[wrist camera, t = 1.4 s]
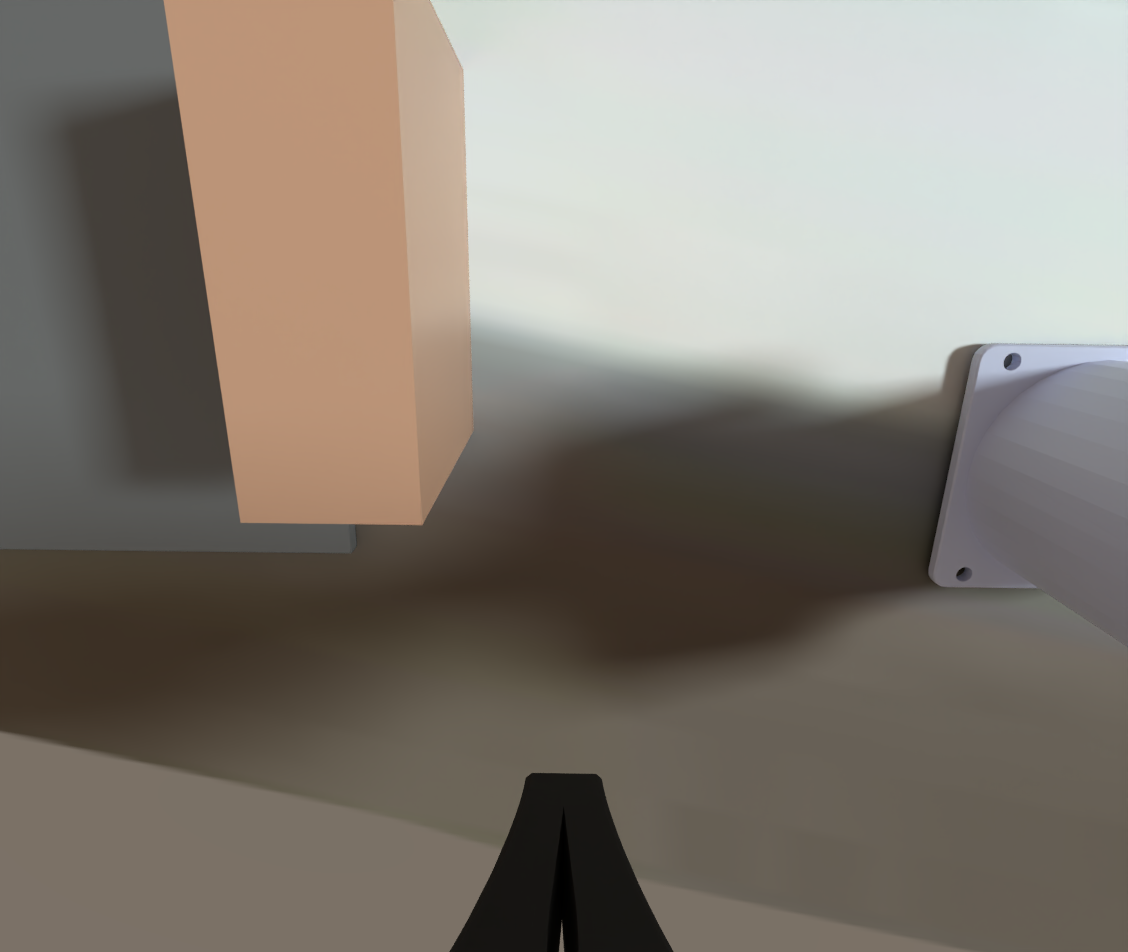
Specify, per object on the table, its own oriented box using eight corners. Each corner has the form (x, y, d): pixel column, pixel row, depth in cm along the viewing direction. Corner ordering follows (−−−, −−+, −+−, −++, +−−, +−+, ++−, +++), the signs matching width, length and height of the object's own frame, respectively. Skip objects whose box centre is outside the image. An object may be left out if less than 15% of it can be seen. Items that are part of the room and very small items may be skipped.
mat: (297, -118, 16) (265, -165, 14) (356, 545, 22) (339, 569, 20) (-354, -133, 16) (-464, -181, 14) (-126, 540, 21) (-187, 563, 20)
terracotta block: (463, 70, 17) (388, -88, 10) (473, 430, 20) (422, 525, 13) (329, 67, 17) (149, -92, 10) (359, 428, 20) (240, 522, 13)
